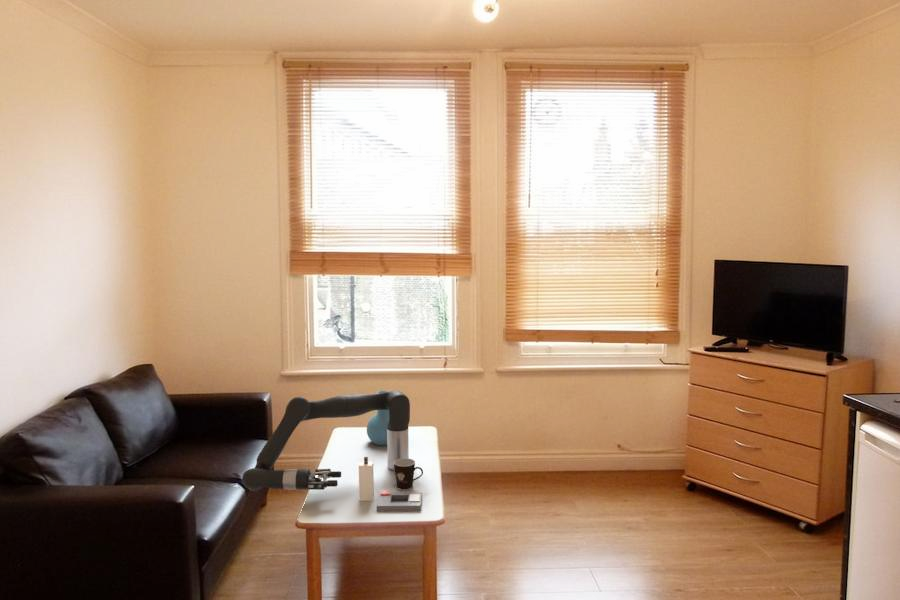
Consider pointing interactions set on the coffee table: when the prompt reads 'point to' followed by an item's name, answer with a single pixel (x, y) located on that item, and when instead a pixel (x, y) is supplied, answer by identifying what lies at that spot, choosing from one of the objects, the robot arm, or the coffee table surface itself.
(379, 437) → the vase
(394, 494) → the socket
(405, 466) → the coffee mug
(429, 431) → the coffee table surface
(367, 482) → the plug
